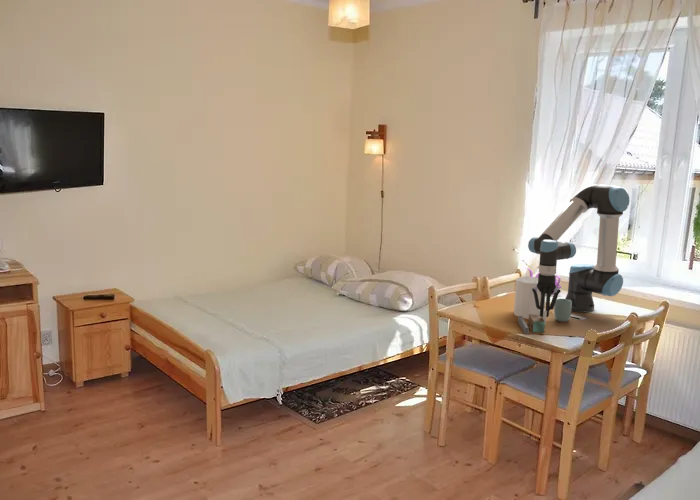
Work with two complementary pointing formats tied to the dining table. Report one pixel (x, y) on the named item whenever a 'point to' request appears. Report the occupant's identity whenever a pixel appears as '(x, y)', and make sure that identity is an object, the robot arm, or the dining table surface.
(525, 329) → the rail
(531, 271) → the teapot
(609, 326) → the dining table surface
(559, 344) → the dining table surface
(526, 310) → the container
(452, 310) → the dining table surface
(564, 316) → the cup
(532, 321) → the brown and green block
